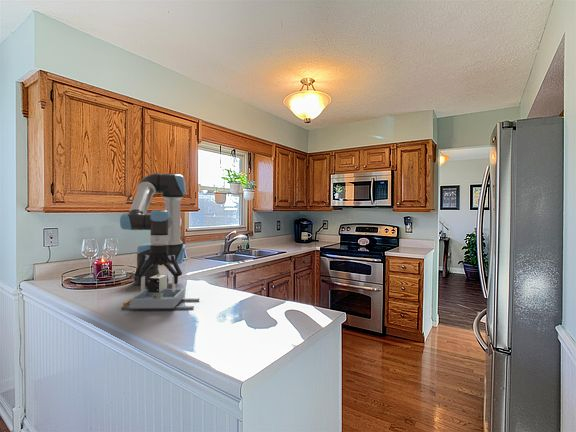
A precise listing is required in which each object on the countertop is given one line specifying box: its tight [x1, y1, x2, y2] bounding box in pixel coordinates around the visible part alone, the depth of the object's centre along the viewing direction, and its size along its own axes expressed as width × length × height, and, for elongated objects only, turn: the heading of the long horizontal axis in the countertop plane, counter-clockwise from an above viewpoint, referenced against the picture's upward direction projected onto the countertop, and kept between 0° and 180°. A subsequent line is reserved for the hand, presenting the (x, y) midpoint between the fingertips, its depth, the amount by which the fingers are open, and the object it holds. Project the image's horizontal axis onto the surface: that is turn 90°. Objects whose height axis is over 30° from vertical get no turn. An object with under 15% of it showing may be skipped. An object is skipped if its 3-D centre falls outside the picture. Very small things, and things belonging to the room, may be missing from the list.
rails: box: [120, 297, 200, 311], centre depth 140 cm, size 14×31×2 cm, turn 95°
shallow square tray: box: [129, 288, 185, 308], centre depth 140 cm, size 18×18×4 cm
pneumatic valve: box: [146, 273, 170, 299], centre depth 140 cm, size 6×12×12 cm, turn 177°
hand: (158, 291), depth 140 cm, fingers open, 13 cm apart
